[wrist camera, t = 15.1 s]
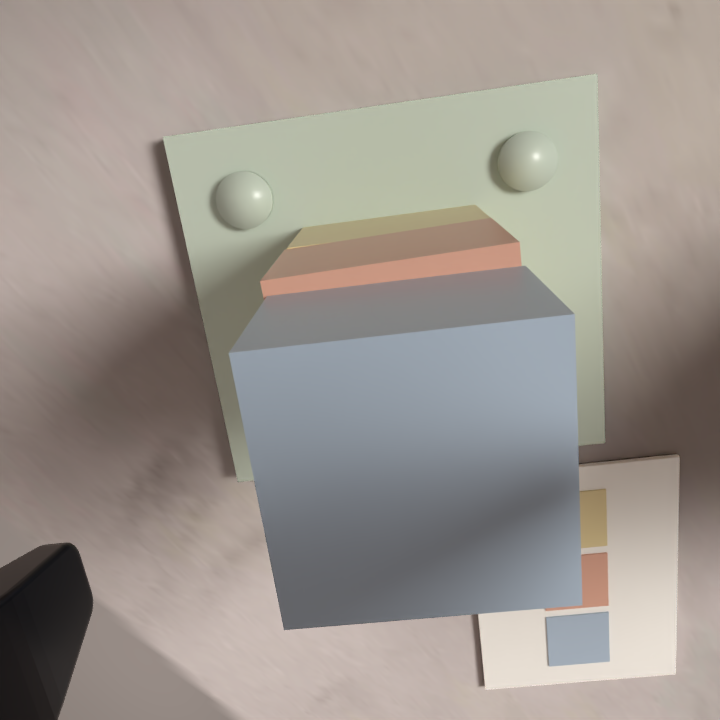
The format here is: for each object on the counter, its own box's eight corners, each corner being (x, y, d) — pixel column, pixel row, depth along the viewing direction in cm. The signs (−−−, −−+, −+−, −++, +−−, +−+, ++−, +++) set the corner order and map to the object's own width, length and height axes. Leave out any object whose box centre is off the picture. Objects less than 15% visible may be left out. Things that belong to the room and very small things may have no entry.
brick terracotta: (491, 217, 16) (519, 241, 13) (509, 410, 18) (539, 476, 14) (284, 249, 16) (259, 280, 13) (320, 435, 18) (307, 505, 15)
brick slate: (525, 265, 13) (575, 313, 10) (537, 495, 15) (582, 604, 11) (266, 295, 13) (228, 353, 10) (306, 517, 15) (284, 630, 12)
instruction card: (677, 454, 22) (680, 457, 22) (673, 670, 25) (676, 675, 25) (464, 476, 23) (465, 480, 23) (484, 685, 26) (485, 690, 26)
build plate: (590, 75, 19) (645, 62, 15) (599, 435, 22) (645, 500, 18) (168, 136, 20) (116, 139, 16) (241, 473, 23) (213, 543, 19)
